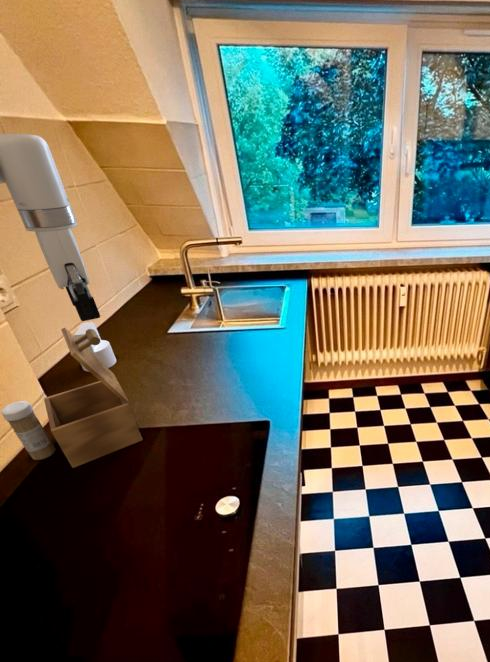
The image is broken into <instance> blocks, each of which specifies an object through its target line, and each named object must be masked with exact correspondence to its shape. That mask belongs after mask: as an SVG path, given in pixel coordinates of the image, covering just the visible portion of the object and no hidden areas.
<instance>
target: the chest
mask: <svg viewBox="0 0 490 662" xmlns="http://www.w3.org/2000/svg"><path fill="white" fill-rule="evenodd" d="M43 401H44V405H45V410H46V414H47V419H48V424H49V428H50V432H51V434H52V436H53V437H54V439H55V440H56V442H57V444H58V446H59V448H60V449H61V451H62V453H63V454H64V456H65V458H66V459H67V461H68V463H69V465H70V466H71V468H73V469H74V468H76V467H79V466H81V465H84V464H87V463H89V462H91V461H94V460H96V459H99V458H102V457H105V456H106V455H109V454H111V453H114V452H116V451H119V450H121V449H124V448H127V447H129V446H132V445H134V444H136V443H138V442H141V441H143V440H144V439H143V437H142V435H141V432H140V429H139V427H138V425H137V422H136V420H135V418H134V416H133V413H132V411H131V408H130V407H129V404H128V402H127V403H126V404H125V403H124V402H123V401H122V400H121V399H120V398H118V397H117V396H116V395H115V394H114V393H113V392H112V391H111V390H110V389H108V388H107V387H106V386H105V385H104V384H103V383H102V382H101V381H99V380H98V381H95V382H92V383H89V384H86V385H85V384H84V385H82V386H79V387H76V388H71V389H69V390H65V391H63V392H60V393H56V394H53V395H49V396H46V397H44V398H43Z"/></svg>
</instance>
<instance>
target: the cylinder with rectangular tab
mask: <svg viewBox="0 0 490 662" xmlns="http://www.w3.org/2000/svg"><path fill="white" fill-rule="evenodd" d="M88 329H93V330H95V332H96V333H97V335H98V337H99V339H100V343H99V344H98V345H91V346H89V347H88V348H87V349H88V350H89V351H90V352H91V353H92V354H93V355H94V356H95V357H96V358H98V359H99V360H100V361H101V362H102V363H103V364H104V365H105V366H106V367H107V368H108V369H109V368H111V367H113V366H114V365H115V364H116V363H117V358H116V356H115V353H114V350H113V348H112V346H111V343H110V342H109V341H108V340H105V339H102V338H101V336H100V333H99V331H98V329H97V326H96V324H95V322H94V321H86V322H83V323H81V324H80V325H79V327H78V328H77V330H76V331H75V333H74V334H73V336H74V337H75V338H76V339H79V338H81V337H82V336H84V335H86V331H87V330H88ZM88 341H89V340H88V339H86V340H84V341H83V342H81V343H82V344H83V345H84V344H85V343H87V342H88ZM79 364H80V366H81V368H82V370H83V371H85V372H86V373H87V372H88V373H90V372H89V371H88V370H87V369H86V368H85V367H84V366H83V365H82V364H81V363H79Z"/></svg>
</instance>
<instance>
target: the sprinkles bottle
mask: <svg viewBox="0 0 490 662" xmlns="http://www.w3.org/2000/svg"><path fill="white" fill-rule="evenodd" d="M0 413H1V415H2V417H3V419H4V421H7V422H8V423H9V425H10V427H11V428H12V430H13V432H14V434H15V435H16V436H17V438H18V439H19V441H20V442H21V444H22V446H23V447H24V449H25V451H27V453H28V454H29V456H30V457H31V459H32V460H34V461H40V460H44V459H47V458H49V457H51V456H52V455H53V454H54V453H55V452H56V450H57V449H56V447H55V445H54V443H53V442H52V439H51V438H50V436H49V434H48V432H47V431H46V429H45V428H44V427H43V425H42V423H41V422H40V420H39V418H38V417H37V415H36V414H35V411H34V409H33V406H32V405H31V404H30V402H28V401H27V400H18V401H14V402H12V403H9V404H7V405H6V406H4V407H3V408H2V409H1V411H0Z"/></svg>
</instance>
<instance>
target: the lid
mask: <svg viewBox="0 0 490 662" xmlns="http://www.w3.org/2000/svg"><path fill="white" fill-rule="evenodd" d="M60 331H61V333H62V335H63V337H64V340H65V343H66V345H67V348H68V351H69V354H70V356H71V357H72V358H74V359H75V361H77V362H78V363H79V364H80V363H81V364H82V365H83V366H84V367H85V368H86V369H87V370H88V371H89V372H88V373H90V374H92V375H93V376H94V377H95V378H96V379H97V380H98V381H101V382H102V383H103V384H104V385H105V386H106V387H107V388H108V389H110V390H111V391H112V392H113V393H114V394H115V395H116V396H117V397H118V398H120V399H121V400H122V401H123V402H124V403H125V404H126V403H127V404H128V403H129V402H130V401H129V399H128V397H127V396H126V394H125V392H124V390H123V388H122V386H121V384H120V382H119V381H118V379H117V377H116V375H115V374H114V372H112V371H111V369H109V368H107V367H106V366H105V365H104V364H103V363H102V362H101V361H100V360H99V359H98V358H96V357H95V356H94V355H93V354H92V353H91V352H90V351H89V350H88V349H87V348H88V347H89V346H91V345H98V344H99V343H100V339H99V337H98V335H97V333H96V332H95V330H93V329H88V330H87V331H86V335H84V336H82V337H81V338H79V339H76V338H75V336H74V334H72V333H71V332H70V331H69V330H68V329H67V328H66V327H63V328H61V330H60ZM86 339H88V340H89V341H88V342H87V343H85V344H84V345H83V344H82V343H81V342H83V341H84V340H86ZM81 364H80V365H81Z"/></svg>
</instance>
